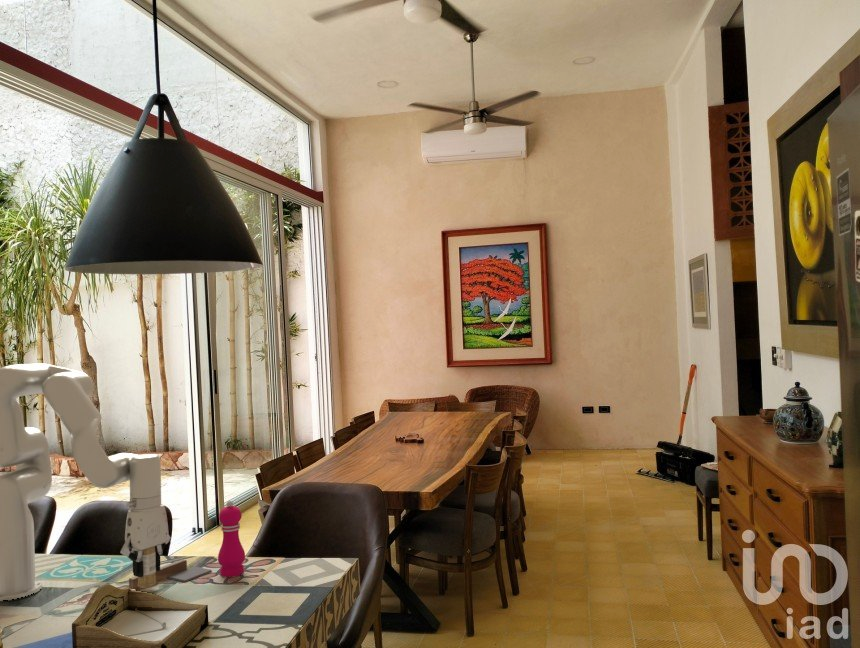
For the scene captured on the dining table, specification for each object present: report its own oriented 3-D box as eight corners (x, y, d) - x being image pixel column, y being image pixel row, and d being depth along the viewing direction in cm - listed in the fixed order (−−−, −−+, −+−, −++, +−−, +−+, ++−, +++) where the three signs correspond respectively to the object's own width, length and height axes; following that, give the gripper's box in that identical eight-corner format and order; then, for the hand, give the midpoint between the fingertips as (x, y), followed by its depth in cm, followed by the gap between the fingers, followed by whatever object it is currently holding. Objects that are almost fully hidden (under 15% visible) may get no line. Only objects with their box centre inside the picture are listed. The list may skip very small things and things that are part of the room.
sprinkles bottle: (149, 581, 181) (149, 530, 181) (159, 584, 179) (159, 532, 179) (133, 586, 177) (132, 534, 178) (143, 590, 175) (142, 537, 175)
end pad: (167, 578, 187) (167, 576, 187) (194, 568, 195) (194, 566, 195) (184, 582, 183) (184, 580, 183) (211, 571, 191) (211, 569, 191)
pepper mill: (229, 579, 184) (226, 505, 184) (212, 575, 188) (210, 502, 189) (251, 572, 190) (248, 499, 190) (234, 567, 194) (232, 496, 194)
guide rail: (129, 590, 179) (128, 578, 179) (183, 569, 194) (182, 559, 194) (133, 591, 178) (132, 579, 178) (186, 570, 193) (186, 560, 193)
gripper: (125, 511, 169) (126, 586, 169) (182, 497, 184) (183, 565, 183) (107, 508, 173) (108, 581, 173) (163, 494, 188) (165, 561, 187)
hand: (146, 572), depth 178 cm, fingers closed on sprinkles bottle, 4 cm apart
